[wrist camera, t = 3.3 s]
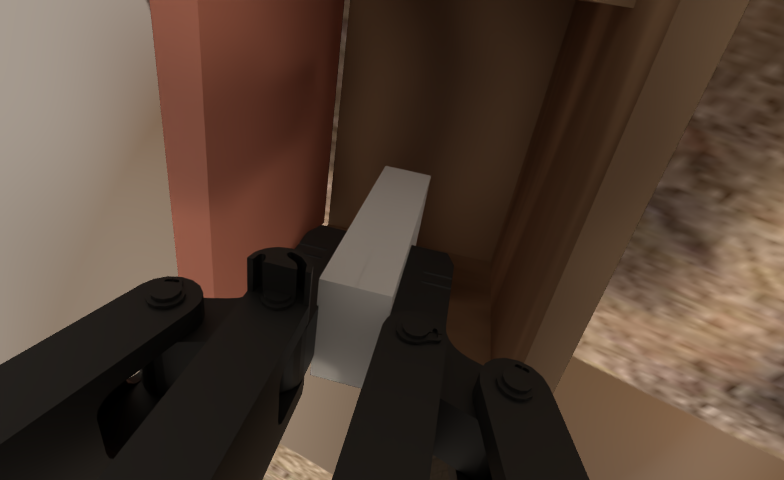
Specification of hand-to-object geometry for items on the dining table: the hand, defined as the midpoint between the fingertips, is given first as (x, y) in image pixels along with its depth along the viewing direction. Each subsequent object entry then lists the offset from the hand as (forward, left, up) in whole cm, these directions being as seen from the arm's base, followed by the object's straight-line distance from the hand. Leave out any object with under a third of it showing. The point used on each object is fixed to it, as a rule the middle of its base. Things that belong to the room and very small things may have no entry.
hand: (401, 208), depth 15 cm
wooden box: (-1, 0, -18) cm, 18 cm away
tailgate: (+6, 0, -9) cm, 11 cm away
